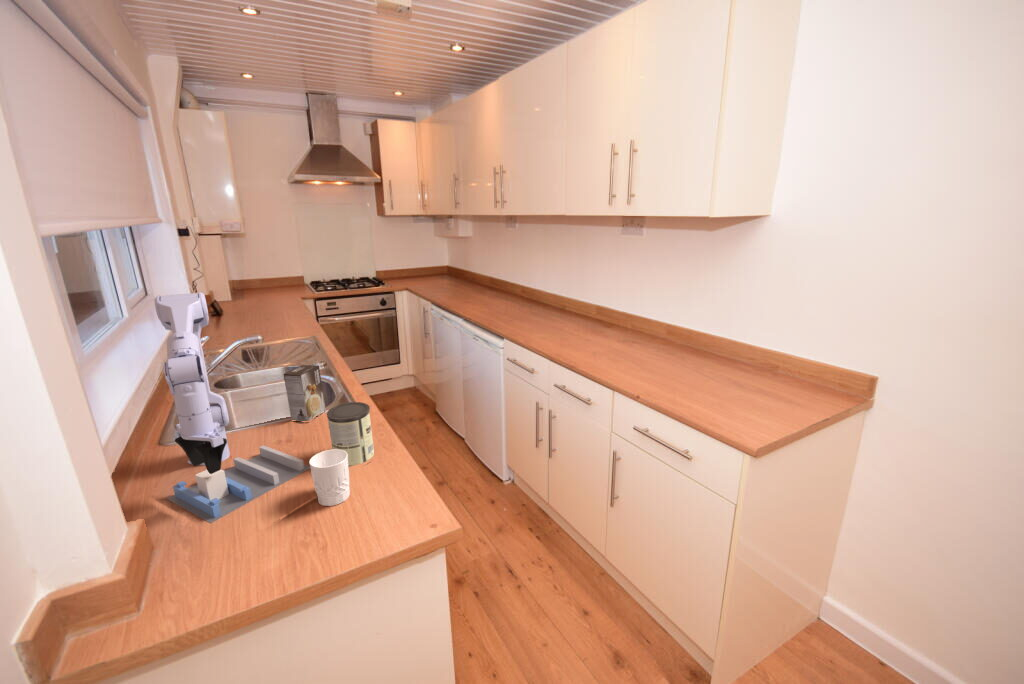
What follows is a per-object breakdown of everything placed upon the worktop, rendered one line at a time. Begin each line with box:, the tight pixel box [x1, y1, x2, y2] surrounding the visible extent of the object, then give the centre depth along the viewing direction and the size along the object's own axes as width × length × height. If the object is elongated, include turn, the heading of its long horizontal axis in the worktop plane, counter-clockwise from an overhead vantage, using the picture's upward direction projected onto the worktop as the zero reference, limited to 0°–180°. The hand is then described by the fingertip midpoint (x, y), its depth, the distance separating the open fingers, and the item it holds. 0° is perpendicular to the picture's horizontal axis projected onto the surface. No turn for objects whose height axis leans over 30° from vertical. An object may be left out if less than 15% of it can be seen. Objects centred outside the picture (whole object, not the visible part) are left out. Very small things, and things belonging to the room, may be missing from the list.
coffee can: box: [326, 401, 375, 467], centre depth 115 cm, size 10×10×14 cm
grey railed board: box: [166, 445, 311, 524], centre depth 105 cm, size 18×24×4 cm
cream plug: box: [194, 468, 229, 500], centre depth 99 cm, size 4×4×6 cm
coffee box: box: [283, 364, 327, 421], centre depth 141 cm, size 9×6×16 cm
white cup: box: [308, 449, 351, 507], centre depth 99 cm, size 8×8×10 cm
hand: (206, 467), depth 98 cm, fingers open, 6 cm apart
